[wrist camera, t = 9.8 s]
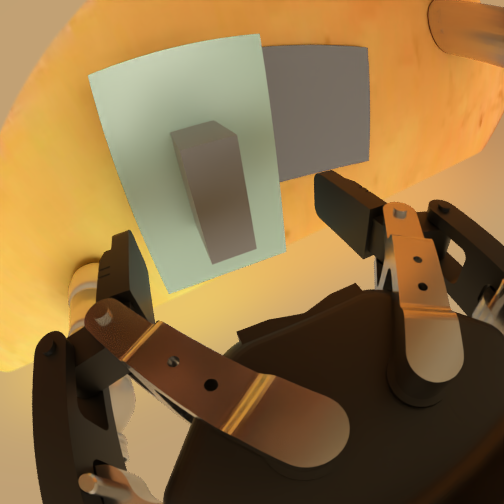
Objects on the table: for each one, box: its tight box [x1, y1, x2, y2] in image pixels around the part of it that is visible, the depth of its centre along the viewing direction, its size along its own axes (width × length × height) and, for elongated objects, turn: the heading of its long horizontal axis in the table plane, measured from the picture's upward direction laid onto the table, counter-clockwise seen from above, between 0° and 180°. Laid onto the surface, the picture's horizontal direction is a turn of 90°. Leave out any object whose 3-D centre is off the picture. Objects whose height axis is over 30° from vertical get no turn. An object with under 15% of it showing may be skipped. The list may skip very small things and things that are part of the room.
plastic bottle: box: [68, 263, 136, 463], centre depth 21 cm, size 6×7×20 cm
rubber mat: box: [262, 45, 370, 182], centre depth 26 cm, size 14×14×1 cm
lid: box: [88, 34, 286, 294], centre depth 14 cm, size 9×15×5 cm, turn 9°
